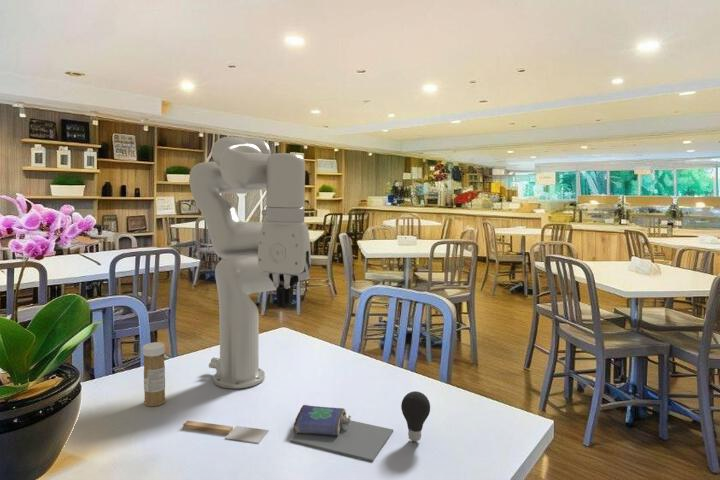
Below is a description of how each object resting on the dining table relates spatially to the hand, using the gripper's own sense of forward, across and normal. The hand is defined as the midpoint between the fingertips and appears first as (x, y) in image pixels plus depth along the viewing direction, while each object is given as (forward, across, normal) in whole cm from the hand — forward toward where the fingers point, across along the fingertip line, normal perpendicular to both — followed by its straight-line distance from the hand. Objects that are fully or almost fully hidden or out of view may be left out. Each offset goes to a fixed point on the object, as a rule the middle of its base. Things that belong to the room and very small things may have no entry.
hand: (284, 306), depth 99 cm
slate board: (+25, +14, 0) cm, 28 cm away
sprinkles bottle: (+25, -31, -4) cm, 40 cm away
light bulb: (+25, +27, +4) cm, 37 cm away
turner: (+25, -8, -8) cm, 27 cm away
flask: (+23, +3, 0) cm, 23 cm away
